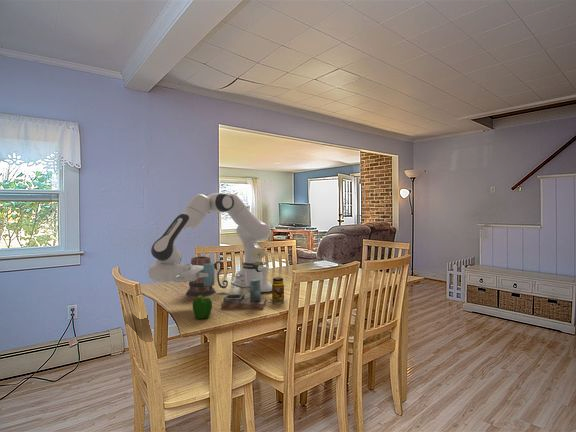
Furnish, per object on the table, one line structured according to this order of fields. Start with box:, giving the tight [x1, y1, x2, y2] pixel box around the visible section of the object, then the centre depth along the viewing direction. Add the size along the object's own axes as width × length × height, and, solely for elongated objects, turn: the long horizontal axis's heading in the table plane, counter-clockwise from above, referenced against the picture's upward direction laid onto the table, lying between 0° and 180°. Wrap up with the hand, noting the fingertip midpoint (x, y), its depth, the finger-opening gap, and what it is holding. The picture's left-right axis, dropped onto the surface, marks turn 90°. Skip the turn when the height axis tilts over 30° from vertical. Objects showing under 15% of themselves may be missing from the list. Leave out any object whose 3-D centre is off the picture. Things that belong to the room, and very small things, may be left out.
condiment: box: [266, 276, 288, 305], centre depth 170 cm, size 7×8×12 cm
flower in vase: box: [252, 247, 272, 293], centre depth 191 cm, size 13×11×25 cm
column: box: [203, 262, 215, 287], centre depth 160 cm, size 5×5×10 cm
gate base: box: [220, 279, 267, 310], centre depth 162 cm, size 20×10×12 cm, turn 86°
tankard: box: [185, 256, 229, 298], centre depth 189 cm, size 24×17×20 cm
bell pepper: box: [192, 295, 213, 320], centre depth 144 cm, size 8×8×10 cm
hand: (210, 273), depth 160 cm, fingers closed on column, 5 cm apart
